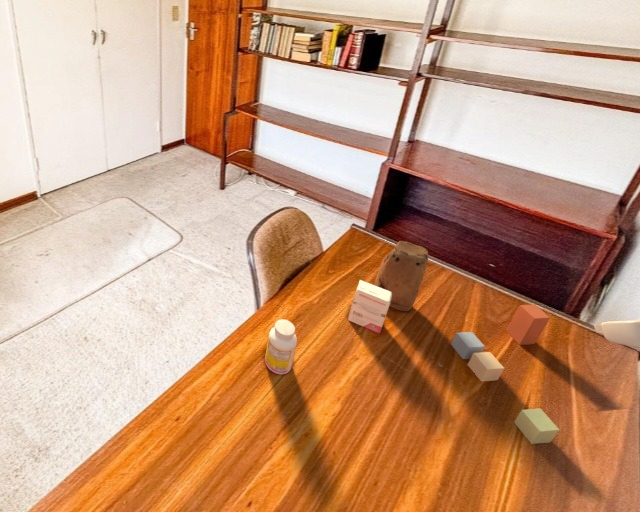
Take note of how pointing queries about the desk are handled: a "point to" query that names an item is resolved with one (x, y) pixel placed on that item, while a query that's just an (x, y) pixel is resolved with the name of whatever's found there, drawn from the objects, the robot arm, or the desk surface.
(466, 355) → the cube
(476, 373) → the cube
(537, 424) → the cube
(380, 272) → the brown tall rounded lump
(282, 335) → the supplement bottle
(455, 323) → the desk surface
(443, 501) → the desk surface
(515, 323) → the tall block
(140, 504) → the desk surface
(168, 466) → the desk surface
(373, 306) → the ink box
